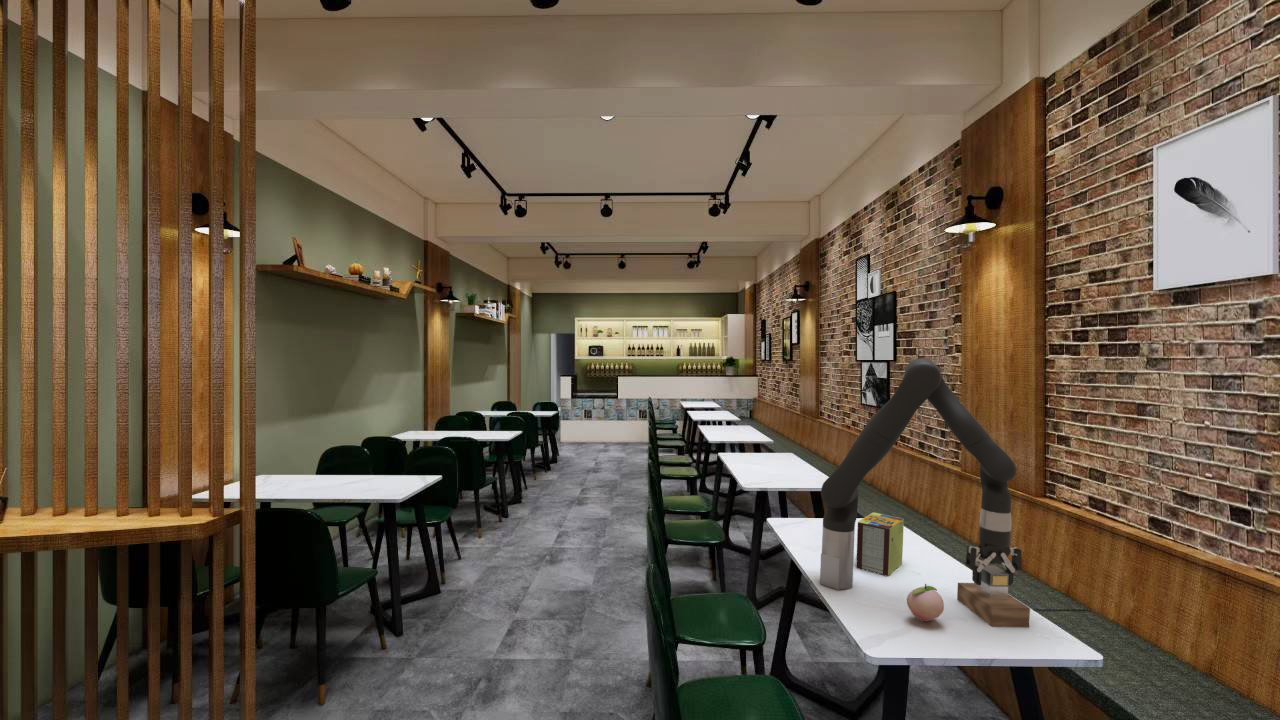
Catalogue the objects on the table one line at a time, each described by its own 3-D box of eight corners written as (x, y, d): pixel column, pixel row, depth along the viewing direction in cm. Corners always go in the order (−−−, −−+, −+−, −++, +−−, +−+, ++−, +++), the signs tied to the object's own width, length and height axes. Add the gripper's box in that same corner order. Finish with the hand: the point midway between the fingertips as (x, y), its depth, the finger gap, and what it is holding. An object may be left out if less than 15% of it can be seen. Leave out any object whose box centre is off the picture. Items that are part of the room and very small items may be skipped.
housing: (993, 590, 165) (994, 565, 164) (1008, 600, 158) (1009, 574, 158) (976, 589, 164) (977, 565, 164) (990, 599, 158) (991, 574, 158)
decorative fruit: (931, 633, 149) (933, 594, 149) (901, 620, 156) (902, 583, 155) (949, 623, 155) (951, 586, 154) (919, 611, 161) (921, 575, 161)
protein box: (902, 563, 197) (904, 518, 197) (888, 576, 185) (890, 528, 185) (870, 555, 204) (872, 511, 203) (855, 568, 192) (856, 521, 192)
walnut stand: (1029, 626, 154) (1029, 608, 154) (991, 626, 153) (992, 607, 153) (991, 600, 170) (991, 583, 170) (957, 599, 169) (957, 582, 169)
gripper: (977, 530, 157) (975, 589, 157) (1030, 531, 157) (1027, 590, 158) (961, 521, 164) (959, 578, 165) (1011, 522, 165) (1009, 579, 165)
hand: (992, 584), depth 161 cm, fingers open, 8 cm apart
